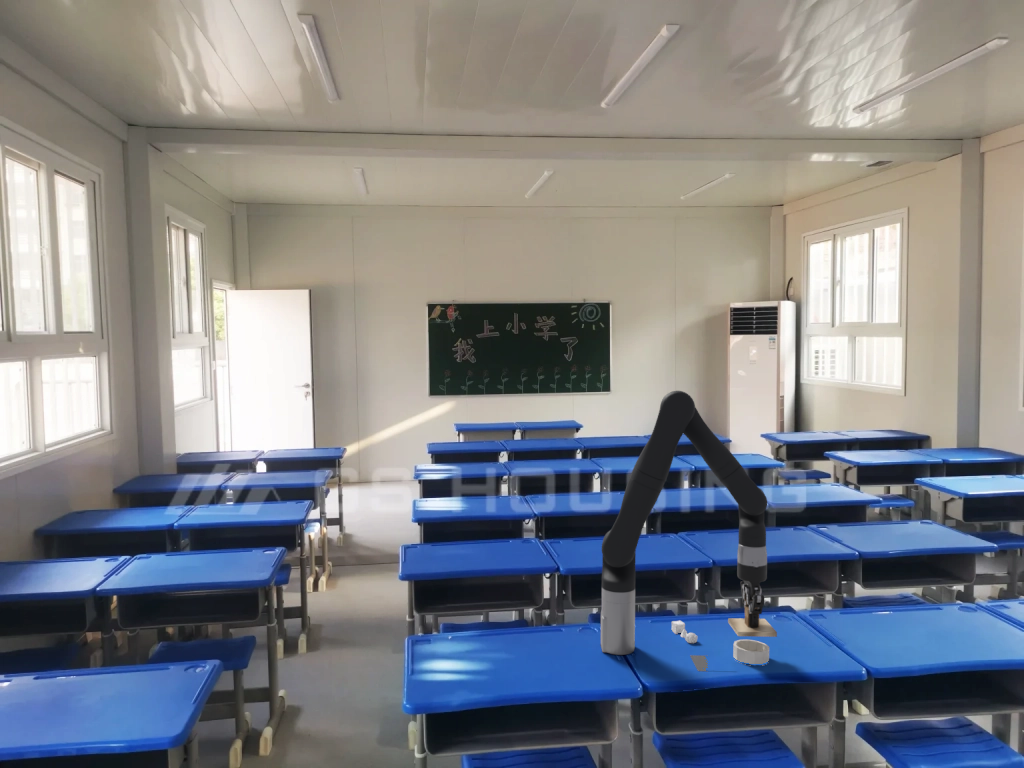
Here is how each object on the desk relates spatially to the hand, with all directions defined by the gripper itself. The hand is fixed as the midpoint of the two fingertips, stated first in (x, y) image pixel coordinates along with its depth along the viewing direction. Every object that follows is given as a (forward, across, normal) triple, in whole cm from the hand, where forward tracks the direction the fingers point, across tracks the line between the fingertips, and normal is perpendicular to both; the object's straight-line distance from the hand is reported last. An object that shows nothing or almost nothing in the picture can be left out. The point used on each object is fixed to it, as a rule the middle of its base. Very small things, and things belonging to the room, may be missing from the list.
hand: (751, 624), depth 192 cm
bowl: (+10, 0, 0) cm, 10 cm away
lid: (+1, 0, 0) cm, 1 cm away
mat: (+10, +4, -11) cm, 15 cm away
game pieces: (+10, -15, -15) cm, 24 cm away
